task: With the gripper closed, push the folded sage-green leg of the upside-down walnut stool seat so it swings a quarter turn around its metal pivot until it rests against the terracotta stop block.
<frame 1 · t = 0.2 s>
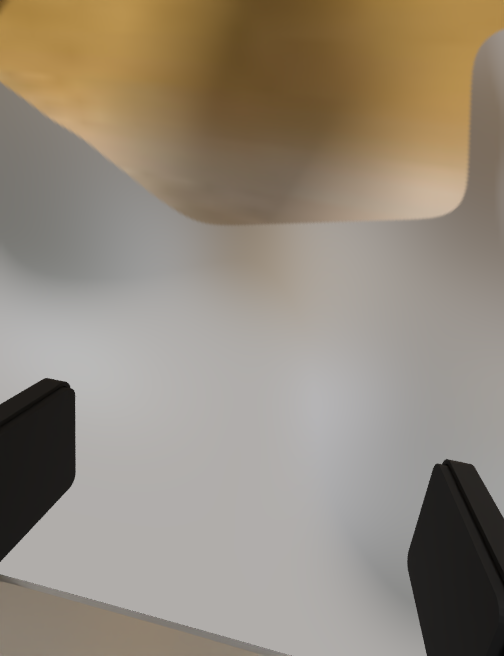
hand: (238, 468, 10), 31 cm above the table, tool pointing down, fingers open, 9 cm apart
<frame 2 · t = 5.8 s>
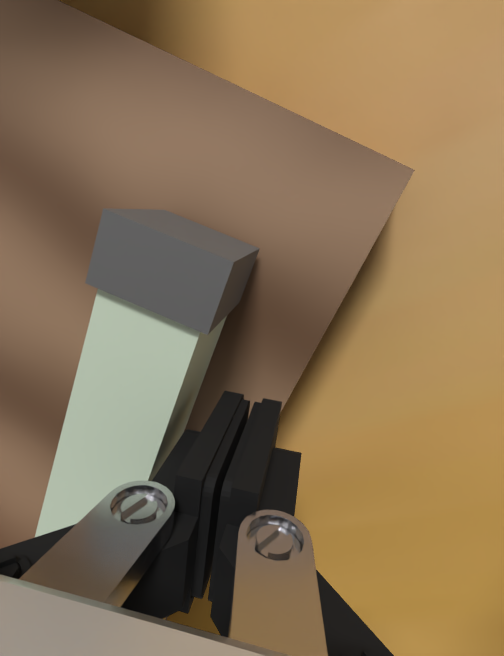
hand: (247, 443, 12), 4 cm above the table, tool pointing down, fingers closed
stool leg: (110, 491, 12), point 4 cm above the table, hinge at 4.1°, touching gripper
stool seat: (46, 348, 16), on the table
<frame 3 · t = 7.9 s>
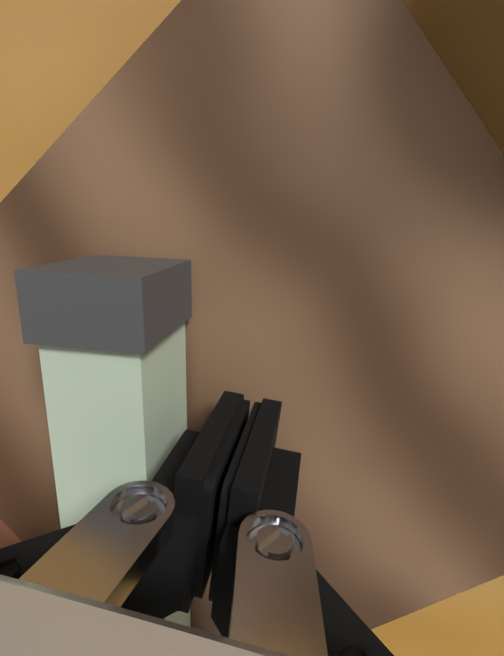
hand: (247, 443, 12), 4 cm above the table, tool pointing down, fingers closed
stool leg: (132, 536, 12), point 4 cm above the table, hinge at 49.7°, touching gripper
stool seat: (217, 399, 15), on the table
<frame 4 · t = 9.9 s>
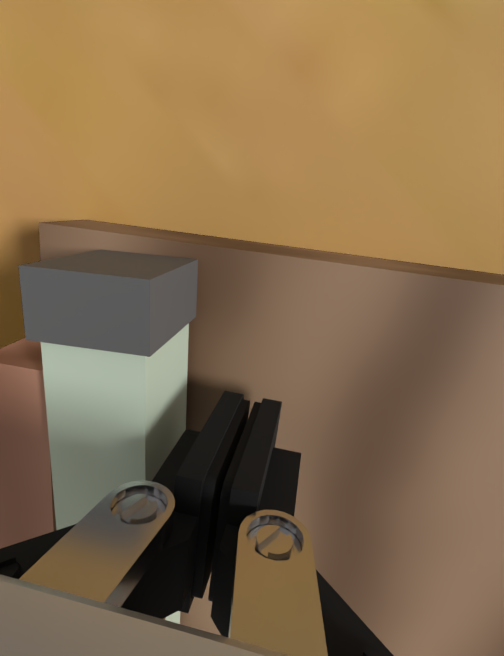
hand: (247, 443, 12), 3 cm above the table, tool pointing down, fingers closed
stool leg: (126, 533, 12), point 4 cm above the table, hinge at 92.2°, touching gripper
stool seat: (360, 500, 15), on the table
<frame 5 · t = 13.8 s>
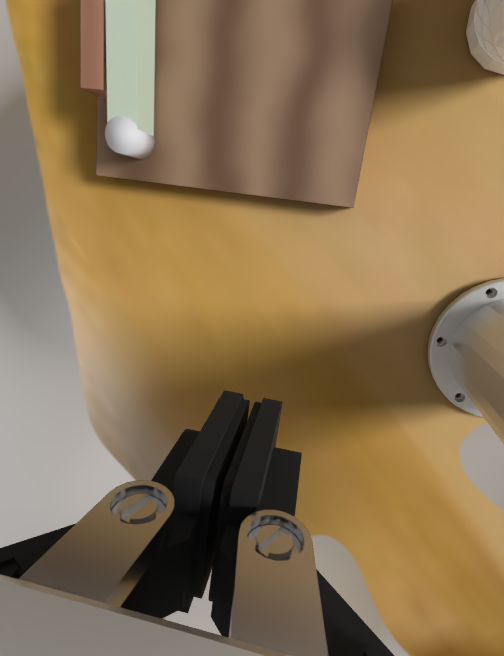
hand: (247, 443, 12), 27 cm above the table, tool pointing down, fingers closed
stool leg: (130, 40, 30), point 4 cm above the table, hinge at 92.2°
stool seat: (237, 77, 34), on the table
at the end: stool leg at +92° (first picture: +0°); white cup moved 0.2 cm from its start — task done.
